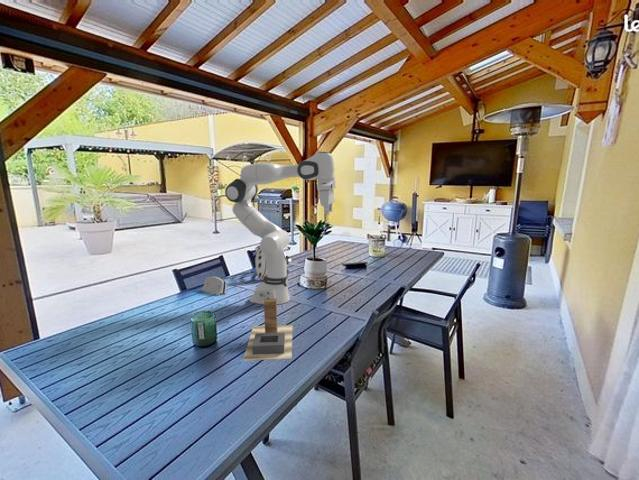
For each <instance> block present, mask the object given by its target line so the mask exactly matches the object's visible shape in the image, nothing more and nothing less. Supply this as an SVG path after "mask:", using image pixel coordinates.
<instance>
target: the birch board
mask: <svg viewBox="0 0 639 480" xmlns="http://www.w3.org/2000/svg"><path fill="white" fill-rule="evenodd" d="M293 327H294V326H293V324H280V325H279V324H277V333H285V347H284V353H278V354H252V345H253V341H254V337H255V334H257V333H265V325H253V326H252V329H251V332H250V336H249V339H248V342H247V345H246V349H245V353H244V355H243V360H242V361H243V362H245V361H247V362H248V361H250V362H251V361H266V360H267V361H269V360H270V361H271V360H275V361H276V360H292V357H293V354H292V353H293V329H294V328H293Z"/></svg>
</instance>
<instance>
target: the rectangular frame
mask: <svg viewBox="0 0 639 480" xmlns="http://www.w3.org/2000/svg"><path fill="white" fill-rule="evenodd" d="M284 347H285V333H257V334H255V337H254V341H253V345H252V354H278V353H284Z"/></svg>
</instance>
